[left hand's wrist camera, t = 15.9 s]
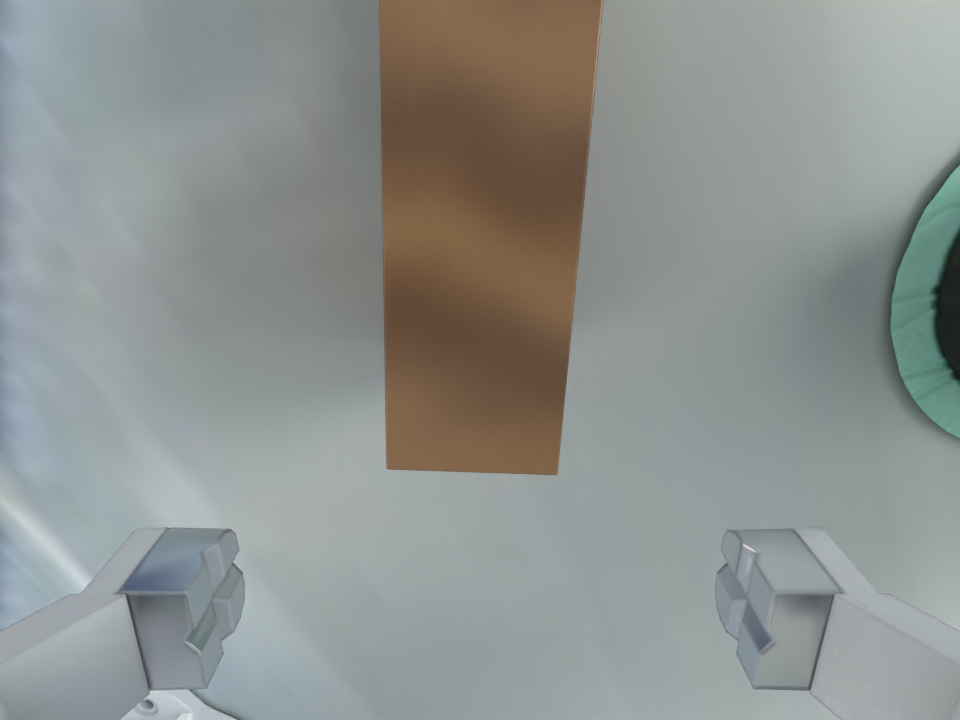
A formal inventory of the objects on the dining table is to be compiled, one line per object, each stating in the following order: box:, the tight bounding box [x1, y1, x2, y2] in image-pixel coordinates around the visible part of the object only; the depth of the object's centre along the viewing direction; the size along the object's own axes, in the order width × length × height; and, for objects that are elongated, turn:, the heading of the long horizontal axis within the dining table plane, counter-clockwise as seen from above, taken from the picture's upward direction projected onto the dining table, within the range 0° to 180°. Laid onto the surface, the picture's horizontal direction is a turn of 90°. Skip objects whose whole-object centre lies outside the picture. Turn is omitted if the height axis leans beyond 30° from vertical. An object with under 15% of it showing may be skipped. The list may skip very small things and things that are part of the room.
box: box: [379, 0, 603, 475], centre depth 24 cm, size 21×6×13 cm, turn 178°
